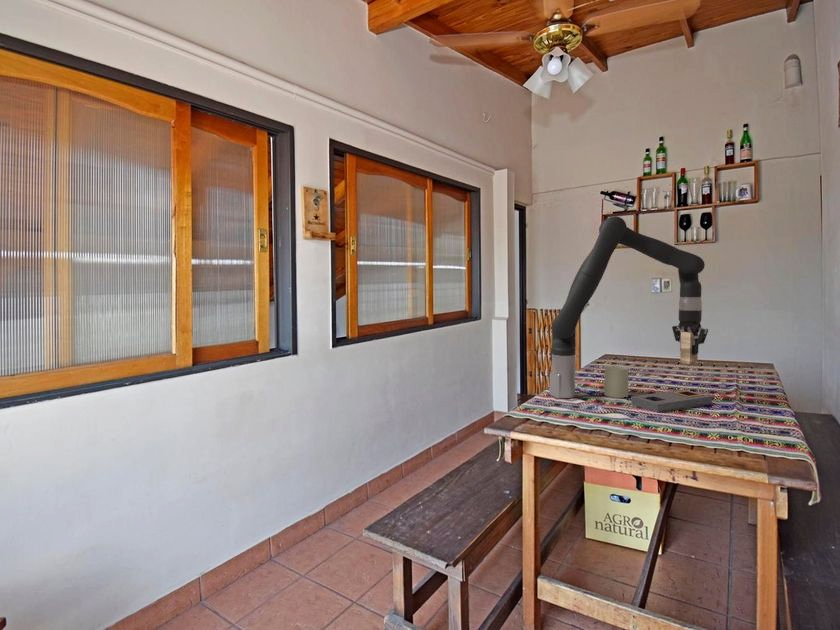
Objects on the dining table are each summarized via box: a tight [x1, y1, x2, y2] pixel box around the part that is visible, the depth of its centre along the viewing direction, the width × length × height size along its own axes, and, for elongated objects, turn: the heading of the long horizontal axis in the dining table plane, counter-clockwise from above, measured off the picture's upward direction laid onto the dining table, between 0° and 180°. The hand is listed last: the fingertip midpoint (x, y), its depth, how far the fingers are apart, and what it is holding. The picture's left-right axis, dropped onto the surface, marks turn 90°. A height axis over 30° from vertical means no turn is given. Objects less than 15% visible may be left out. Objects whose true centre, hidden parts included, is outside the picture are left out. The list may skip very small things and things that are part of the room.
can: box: [603, 365, 629, 399], centre depth 188 cm, size 9×9×12 cm
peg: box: [679, 332, 699, 365], centre depth 175 cm, size 4×4×12 cm
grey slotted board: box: [630, 388, 713, 414], centre depth 174 cm, size 27×12×3 cm, turn 110°
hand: (689, 353), depth 175 cm, fingers closed on peg, 4 cm apart
